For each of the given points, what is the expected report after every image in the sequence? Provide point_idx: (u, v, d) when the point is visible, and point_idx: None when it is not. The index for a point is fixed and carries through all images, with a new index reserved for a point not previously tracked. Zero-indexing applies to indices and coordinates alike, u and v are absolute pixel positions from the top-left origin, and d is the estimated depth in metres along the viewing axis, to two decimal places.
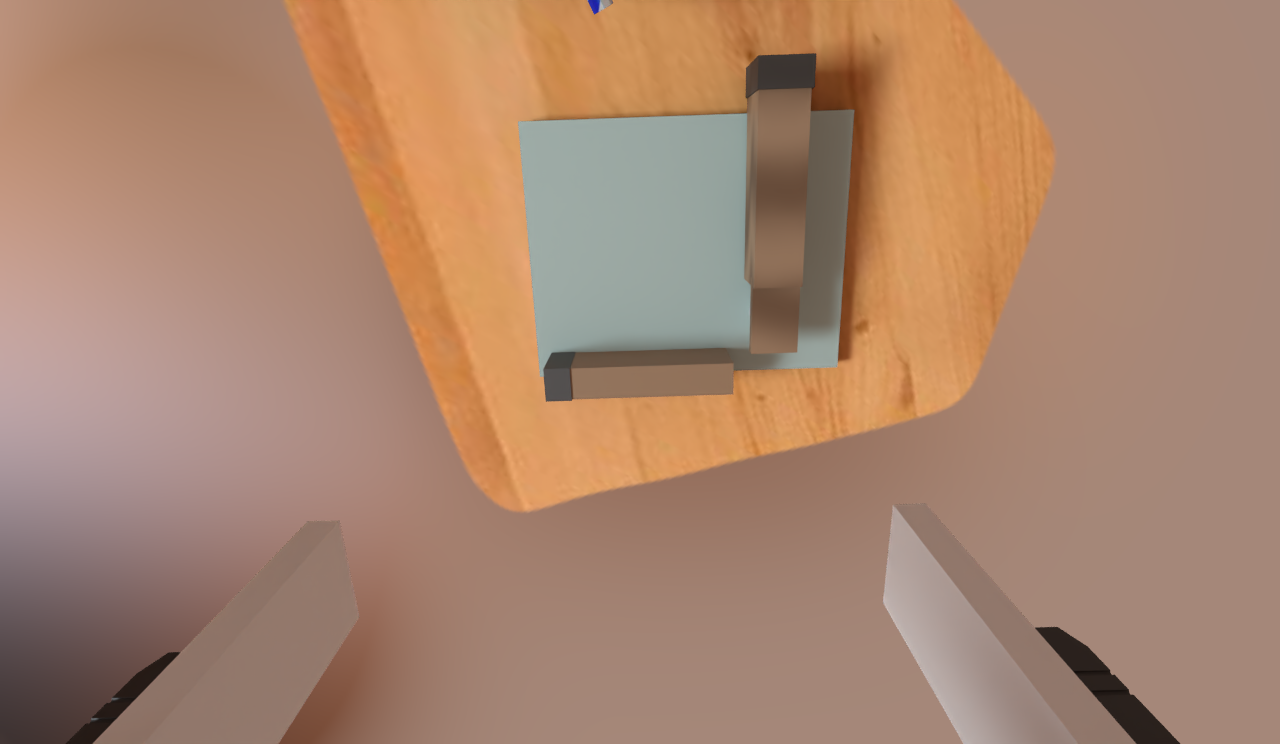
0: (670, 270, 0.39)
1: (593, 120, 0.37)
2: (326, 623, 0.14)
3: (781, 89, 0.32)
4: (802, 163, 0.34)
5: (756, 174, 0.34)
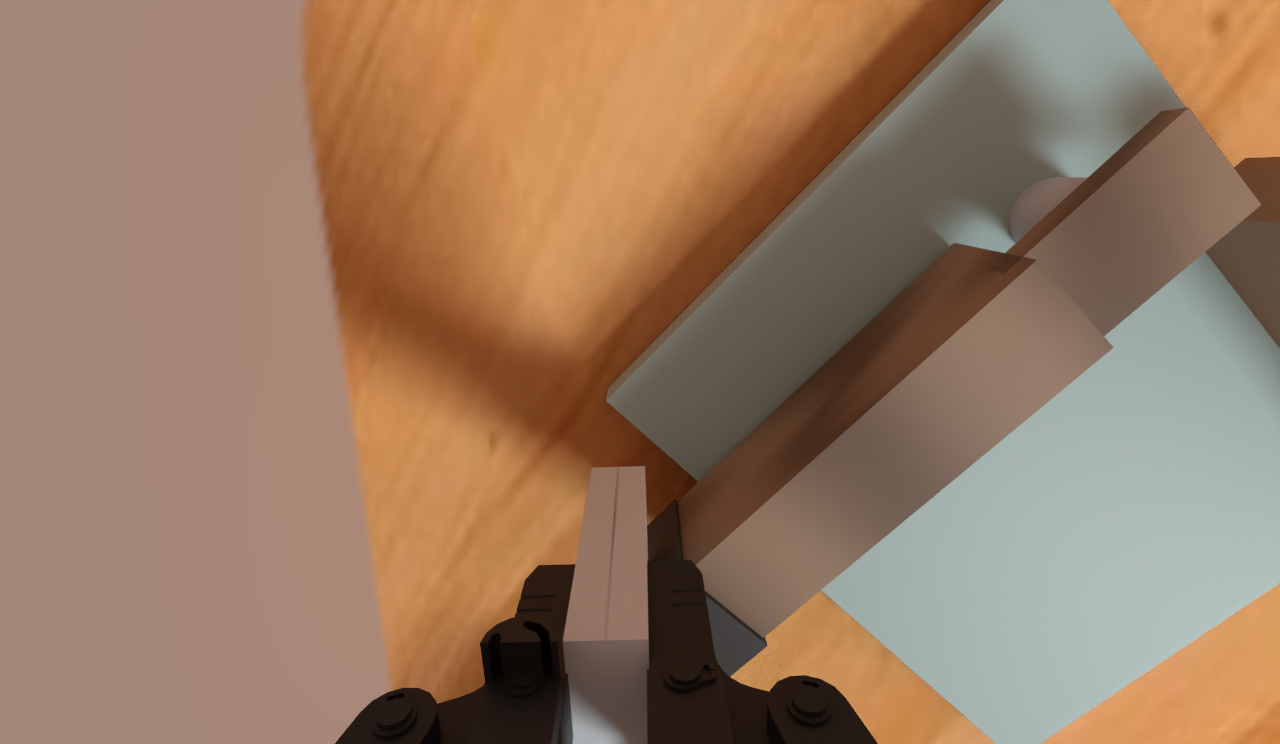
0: (1087, 432, 0.18)
1: (939, 690, 0.21)
2: None
3: (732, 613, 0.15)
4: (806, 482, 0.14)
5: (888, 528, 0.15)
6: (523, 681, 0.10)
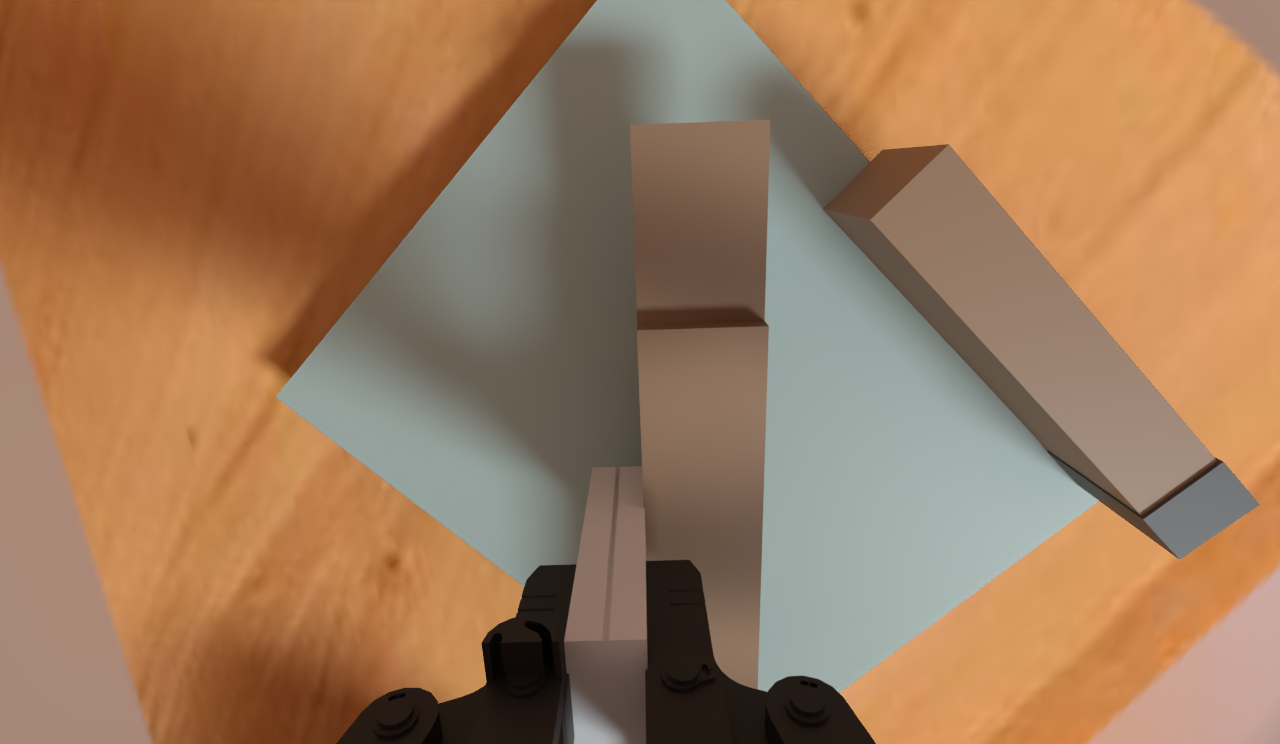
0: (768, 430, 0.18)
1: None
2: None
3: None
4: None
5: (759, 574, 0.15)
6: (525, 681, 0.10)
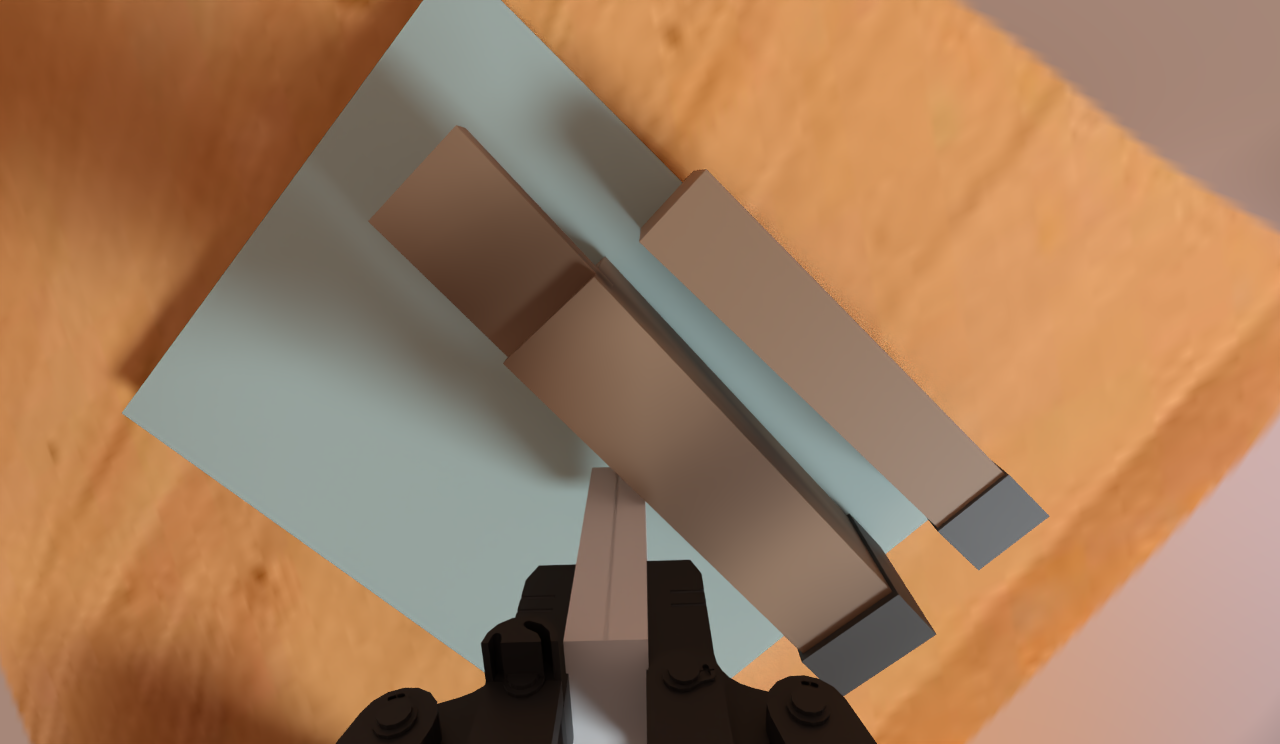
0: None
1: None
2: None
3: (853, 620, 0.15)
4: (715, 552, 0.15)
5: (781, 474, 0.14)
6: (524, 681, 0.10)
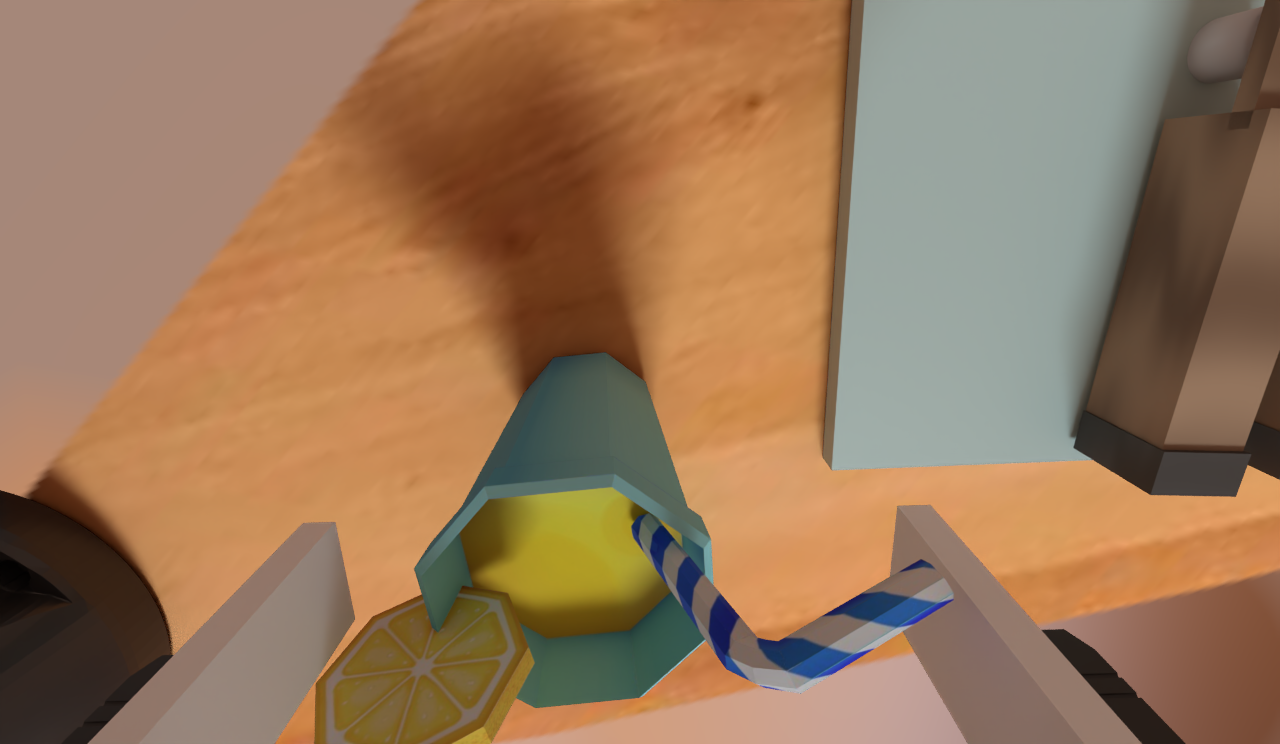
0: (1097, 238, 0.22)
1: (841, 364, 0.24)
2: (321, 625, 0.14)
3: (1211, 450, 0.21)
4: (1206, 340, 0.20)
5: None
6: None
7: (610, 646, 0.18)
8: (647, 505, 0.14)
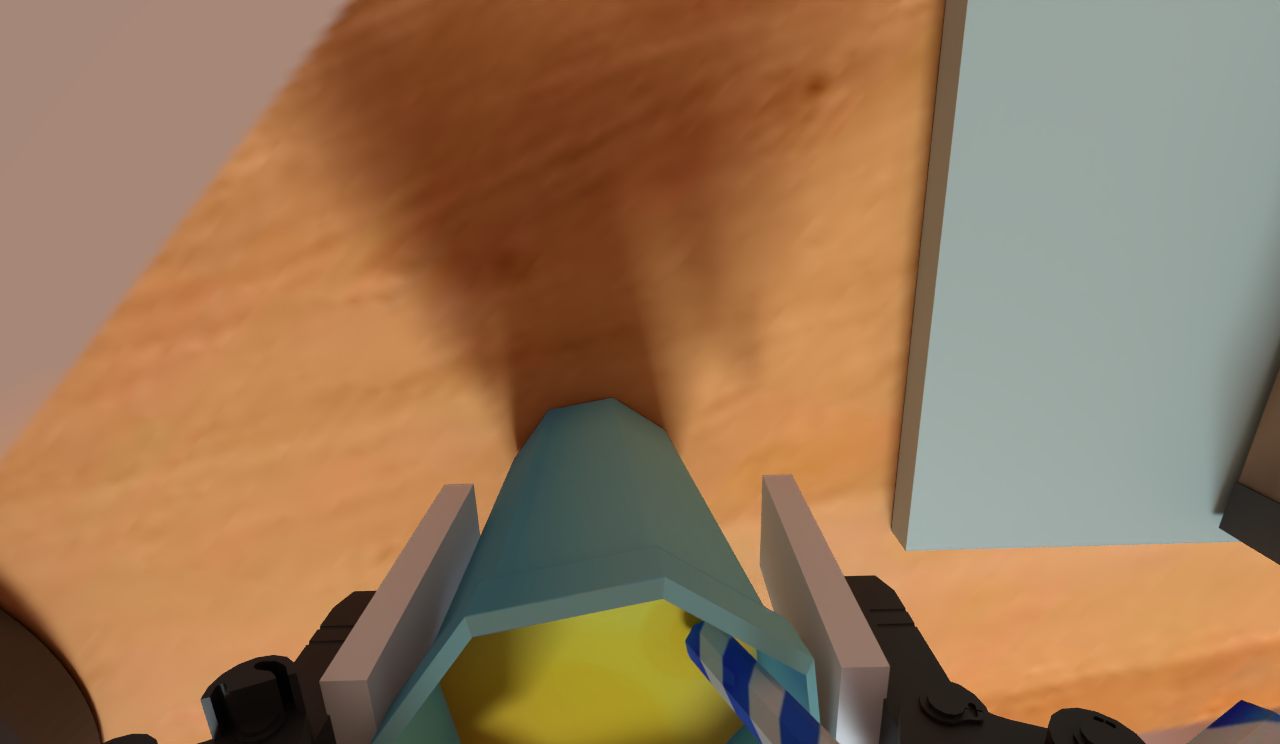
0: (1268, 263, 0.17)
1: (923, 421, 0.18)
2: None
3: None
4: None
5: None
6: (260, 726, 0.09)
7: None
8: (718, 620, 0.09)
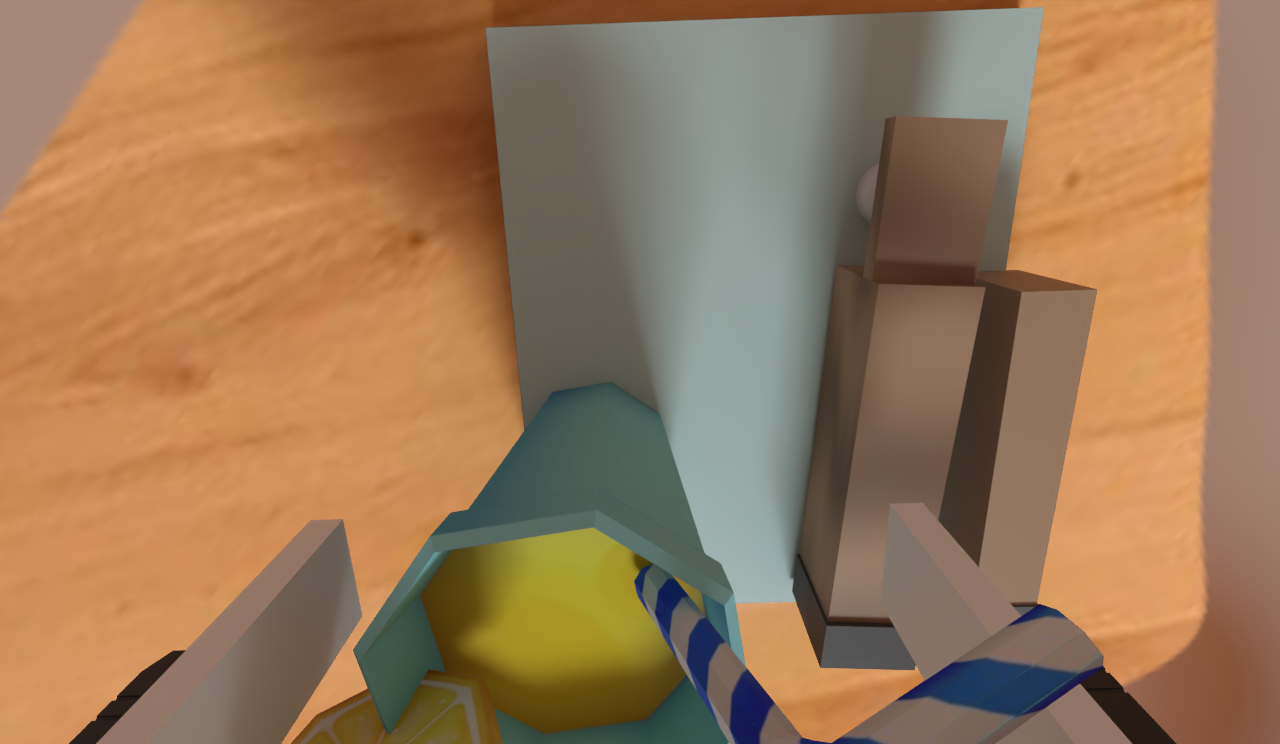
0: (788, 382, 0.21)
1: None
2: (329, 622, 0.14)
3: (880, 623, 0.19)
4: (854, 514, 0.18)
5: None
6: None
7: (622, 742, 0.14)
8: (644, 549, 0.11)
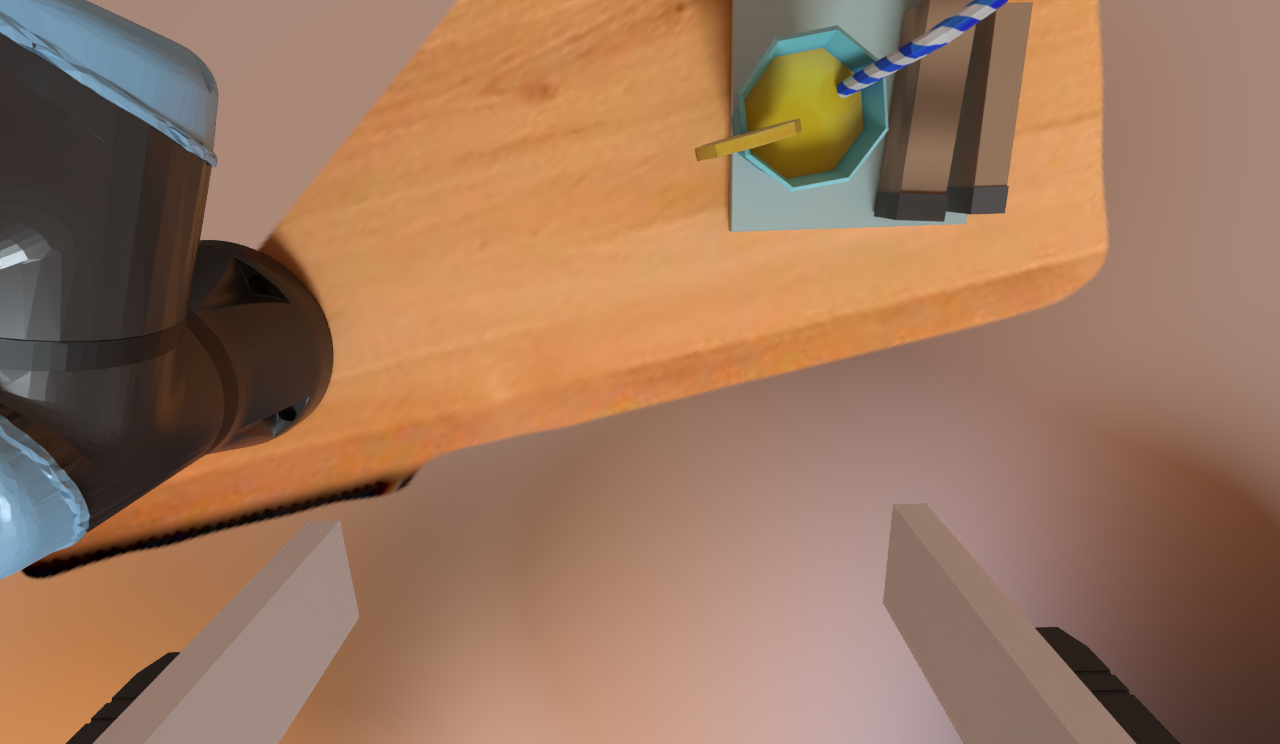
0: None
1: (734, 162, 0.41)
2: (326, 623, 0.14)
3: (927, 193, 0.38)
4: (915, 127, 0.37)
5: (957, 119, 0.37)
6: None
7: (823, 176, 0.33)
8: (854, 41, 0.29)
